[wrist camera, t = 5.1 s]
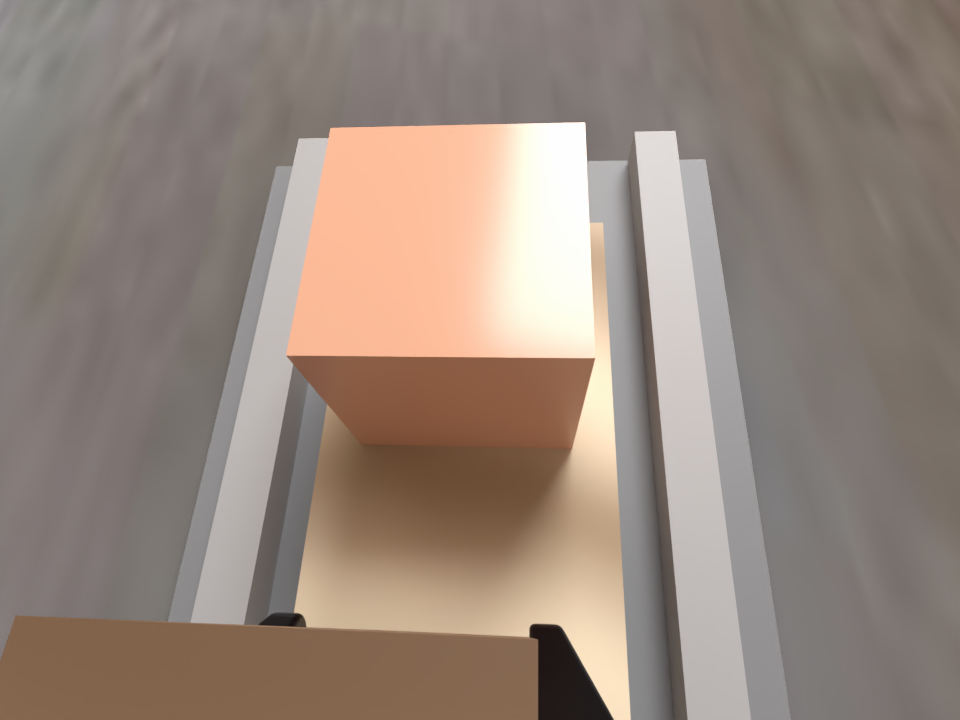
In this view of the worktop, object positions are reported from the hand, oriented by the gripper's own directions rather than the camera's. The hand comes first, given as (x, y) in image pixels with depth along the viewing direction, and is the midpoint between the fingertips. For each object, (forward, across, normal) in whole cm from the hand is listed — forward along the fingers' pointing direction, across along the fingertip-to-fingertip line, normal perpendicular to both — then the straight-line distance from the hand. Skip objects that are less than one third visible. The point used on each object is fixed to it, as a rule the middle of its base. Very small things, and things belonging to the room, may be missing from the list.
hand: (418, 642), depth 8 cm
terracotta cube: (+8, 0, -1) cm, 8 cm away
